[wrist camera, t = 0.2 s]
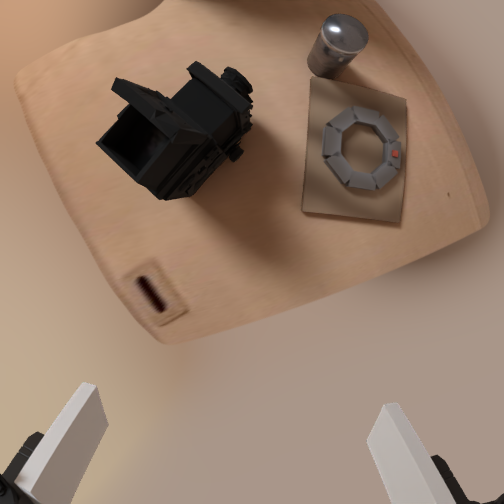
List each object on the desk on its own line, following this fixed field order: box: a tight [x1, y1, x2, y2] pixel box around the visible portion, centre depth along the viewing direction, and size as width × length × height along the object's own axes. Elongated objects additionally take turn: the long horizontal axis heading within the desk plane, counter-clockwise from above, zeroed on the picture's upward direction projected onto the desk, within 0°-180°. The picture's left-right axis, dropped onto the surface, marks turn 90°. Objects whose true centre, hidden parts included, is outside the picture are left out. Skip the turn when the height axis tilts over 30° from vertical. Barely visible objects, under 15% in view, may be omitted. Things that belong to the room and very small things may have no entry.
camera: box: [96, 61, 253, 201], centre depth 24 cm, size 10×14×20 cm
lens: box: [307, 14, 368, 79], centre depth 27 cm, size 6×5×10 cm
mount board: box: [301, 76, 407, 223], centre depth 33 cm, size 18×14×3 cm
